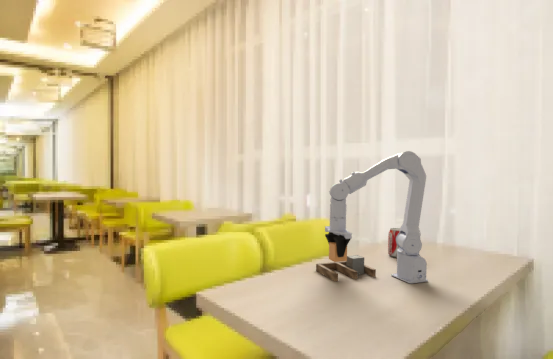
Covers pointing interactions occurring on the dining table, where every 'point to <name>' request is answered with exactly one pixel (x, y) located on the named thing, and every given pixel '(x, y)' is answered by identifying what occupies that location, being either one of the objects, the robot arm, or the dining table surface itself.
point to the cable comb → (341, 270)
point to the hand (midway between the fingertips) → (337, 255)
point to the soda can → (393, 241)
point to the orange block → (333, 253)
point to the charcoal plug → (356, 263)
